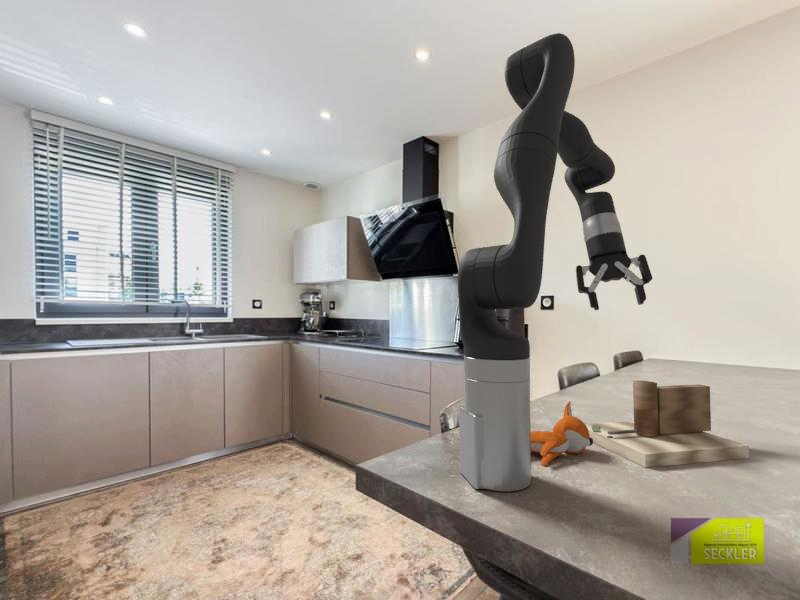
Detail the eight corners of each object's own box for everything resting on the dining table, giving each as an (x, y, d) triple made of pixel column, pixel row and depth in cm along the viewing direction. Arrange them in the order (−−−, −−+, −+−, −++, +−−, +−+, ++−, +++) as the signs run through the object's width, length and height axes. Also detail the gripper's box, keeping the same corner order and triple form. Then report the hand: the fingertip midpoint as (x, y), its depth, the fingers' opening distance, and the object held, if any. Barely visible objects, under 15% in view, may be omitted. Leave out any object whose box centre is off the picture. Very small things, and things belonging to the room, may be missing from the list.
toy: (578, 443, 55) (599, 404, 67) (445, 417, 69) (481, 388, 81) (581, 495, 56) (601, 448, 68) (449, 459, 70) (485, 425, 82)
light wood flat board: (645, 467, 59) (645, 452, 59) (576, 435, 74) (576, 423, 74) (749, 458, 63) (748, 444, 63) (663, 429, 78) (663, 418, 78)
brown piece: (616, 439, 65) (615, 385, 65) (601, 432, 68) (600, 381, 69) (715, 432, 69) (714, 381, 69) (696, 426, 72) (695, 378, 73)
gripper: (570, 238, 86) (584, 308, 82) (642, 224, 81) (661, 298, 77) (568, 249, 93) (581, 314, 88) (635, 236, 88) (652, 305, 84)
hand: (618, 306), depth 83 cm, fingers open, 8 cm apart
